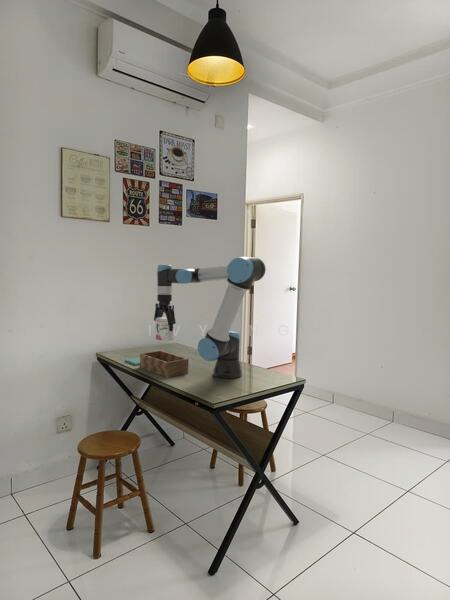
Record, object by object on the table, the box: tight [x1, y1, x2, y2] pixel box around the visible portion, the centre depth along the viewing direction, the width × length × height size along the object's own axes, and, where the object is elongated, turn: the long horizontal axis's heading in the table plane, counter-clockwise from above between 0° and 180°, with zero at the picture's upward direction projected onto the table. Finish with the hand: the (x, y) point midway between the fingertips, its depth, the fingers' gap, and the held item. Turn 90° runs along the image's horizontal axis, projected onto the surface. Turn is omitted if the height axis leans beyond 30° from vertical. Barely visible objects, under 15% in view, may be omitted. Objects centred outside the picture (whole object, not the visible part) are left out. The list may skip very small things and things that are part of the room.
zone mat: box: [124, 356, 140, 366], centre depth 241 cm, size 12×12×1 cm
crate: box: [139, 350, 189, 378], centre depth 225 cm, size 26×14×8 cm, turn 43°
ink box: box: [155, 316, 174, 342], centre depth 223 cm, size 9×5×12 cm, turn 62°
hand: (164, 335), depth 223 cm, fingers closed on ink box, 9 cm apart
